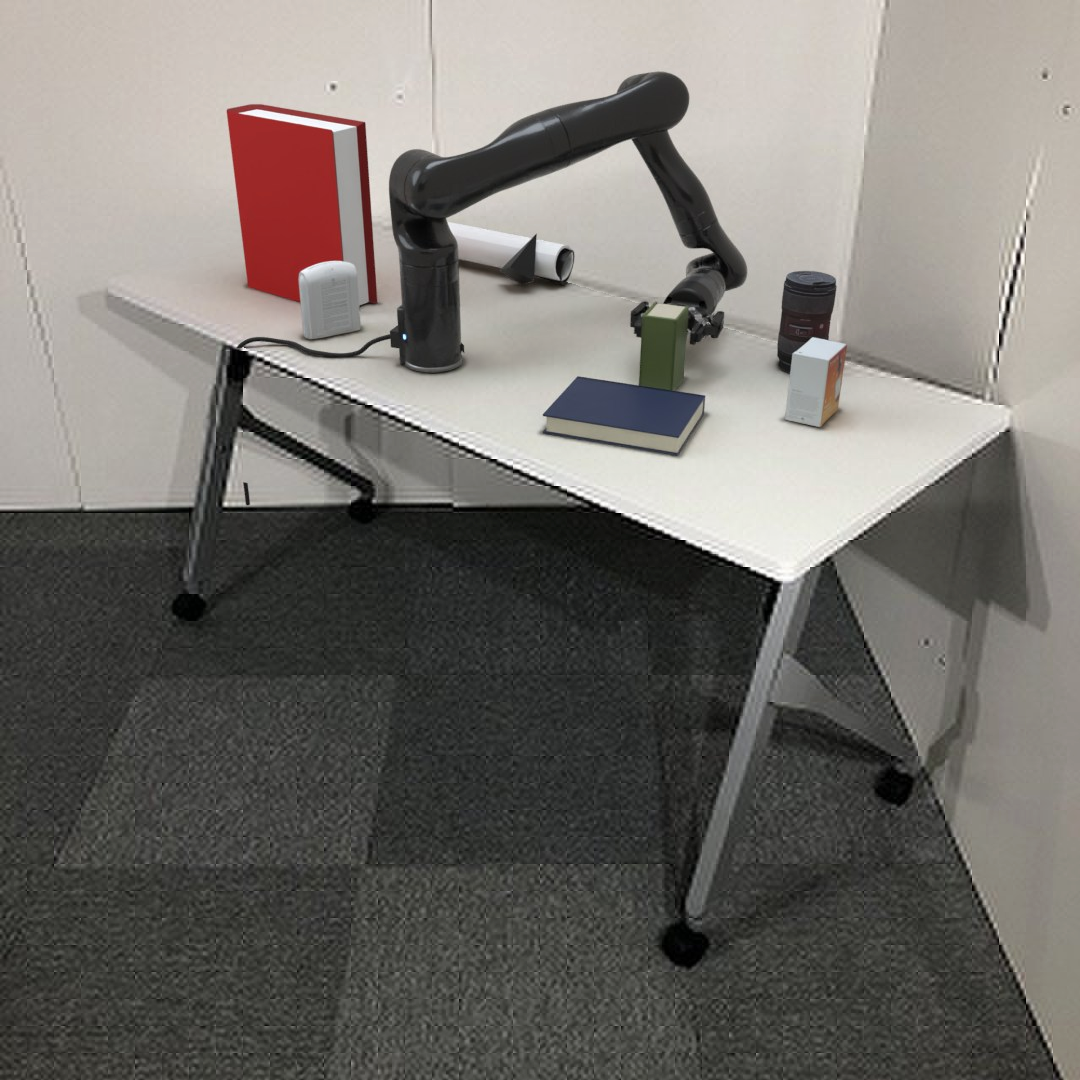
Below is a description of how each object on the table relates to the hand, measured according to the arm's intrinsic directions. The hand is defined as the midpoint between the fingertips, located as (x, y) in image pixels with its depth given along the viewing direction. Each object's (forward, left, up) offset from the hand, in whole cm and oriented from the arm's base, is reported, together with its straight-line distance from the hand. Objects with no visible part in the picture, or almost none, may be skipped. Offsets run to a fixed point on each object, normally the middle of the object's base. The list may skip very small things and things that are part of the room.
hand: (665, 335), depth 184 cm
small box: (+24, -3, -8) cm, 26 cm away
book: (-73, +17, -8) cm, 75 cm away
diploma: (-47, +40, -8) cm, 62 cm away
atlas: (-1, -16, -8) cm, 18 cm away
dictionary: (0, 0, -8) cm, 8 cm away
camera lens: (+19, +15, -8) cm, 25 cm away
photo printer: (-59, +1, -8) cm, 60 cm away
